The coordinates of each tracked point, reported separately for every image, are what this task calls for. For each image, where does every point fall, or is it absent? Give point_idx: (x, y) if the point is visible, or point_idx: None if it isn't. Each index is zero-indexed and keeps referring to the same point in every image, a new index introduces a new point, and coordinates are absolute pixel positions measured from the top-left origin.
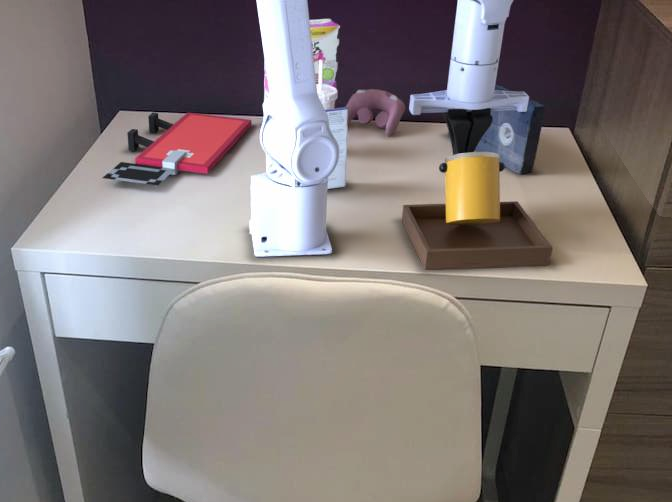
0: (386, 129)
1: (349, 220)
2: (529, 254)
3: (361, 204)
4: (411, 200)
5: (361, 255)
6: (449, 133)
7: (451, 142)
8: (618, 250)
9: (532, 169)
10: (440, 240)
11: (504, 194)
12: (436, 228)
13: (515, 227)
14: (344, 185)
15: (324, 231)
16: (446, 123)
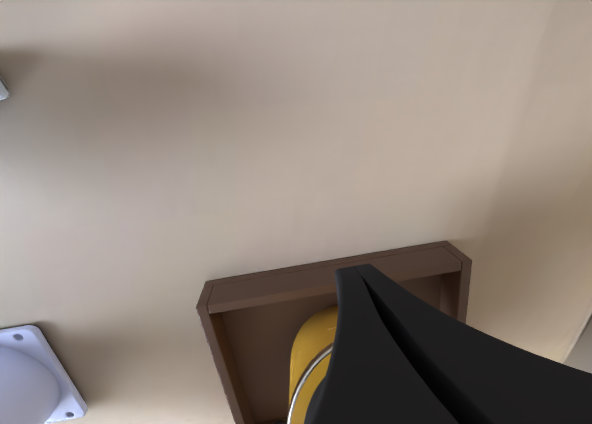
0: None
1: (87, 286)
2: None
3: (95, 202)
4: (225, 166)
5: (143, 399)
6: (333, 349)
7: (338, 318)
8: (565, 334)
9: None
10: (278, 362)
11: (474, 107)
12: (275, 322)
13: (429, 302)
14: (4, 97)
15: (43, 417)
16: (319, 397)
